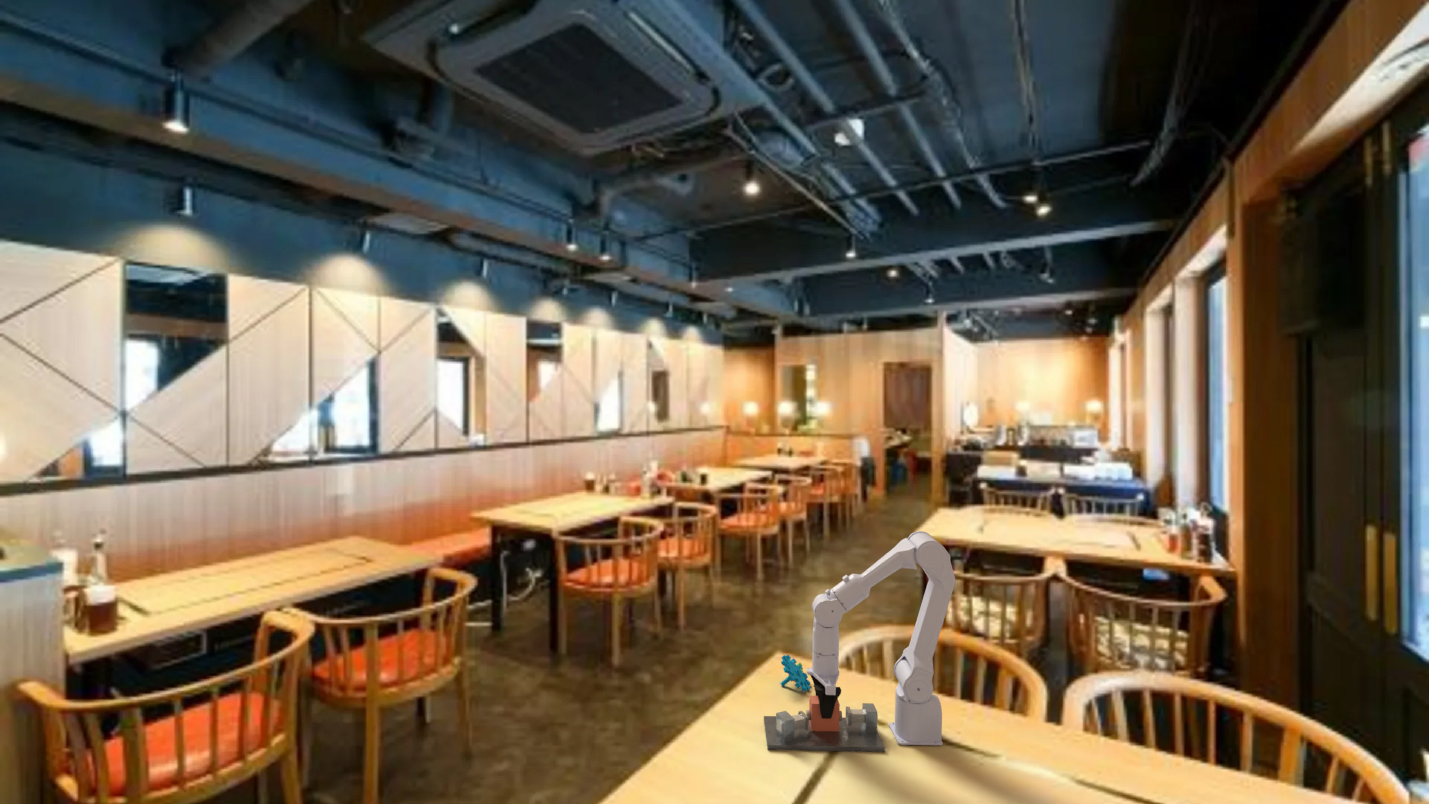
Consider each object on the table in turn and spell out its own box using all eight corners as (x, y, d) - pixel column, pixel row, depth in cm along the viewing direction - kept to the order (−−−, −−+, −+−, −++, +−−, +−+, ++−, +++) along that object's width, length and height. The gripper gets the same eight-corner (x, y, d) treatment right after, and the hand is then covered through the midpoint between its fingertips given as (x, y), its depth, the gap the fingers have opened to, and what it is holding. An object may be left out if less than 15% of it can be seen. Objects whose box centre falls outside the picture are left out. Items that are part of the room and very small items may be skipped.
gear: (807, 694, 151) (780, 658, 155) (789, 708, 153) (763, 673, 156) (817, 680, 162) (791, 647, 165) (800, 694, 163) (775, 661, 166)
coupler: (839, 722, 140) (840, 696, 140) (842, 731, 136) (843, 704, 136) (805, 721, 140) (806, 695, 140) (807, 730, 136) (808, 703, 136)
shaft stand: (871, 722, 142) (872, 698, 142) (885, 752, 131) (885, 726, 130) (763, 720, 142) (764, 696, 142) (767, 749, 131) (768, 723, 131)
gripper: (802, 636, 145) (801, 694, 145) (812, 664, 130) (810, 729, 131) (833, 637, 145) (832, 695, 145) (846, 665, 130) (844, 729, 131)
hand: (824, 711), depth 138 cm, fingers open, 5 cm apart
